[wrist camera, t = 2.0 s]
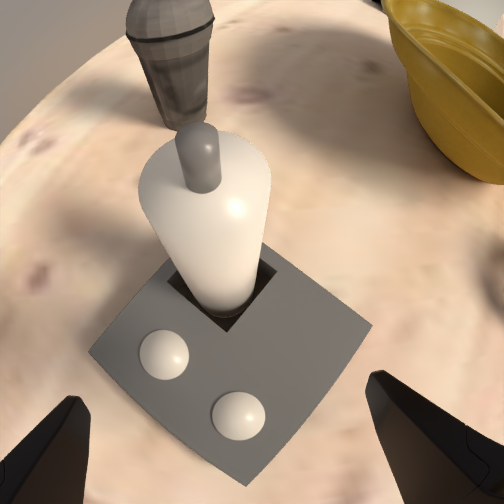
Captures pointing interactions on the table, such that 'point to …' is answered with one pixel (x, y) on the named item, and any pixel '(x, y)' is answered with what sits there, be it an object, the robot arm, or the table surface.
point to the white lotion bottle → (209, 212)
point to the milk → (500, 27)
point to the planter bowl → (453, 82)
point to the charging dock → (232, 363)
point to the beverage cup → (173, 55)
